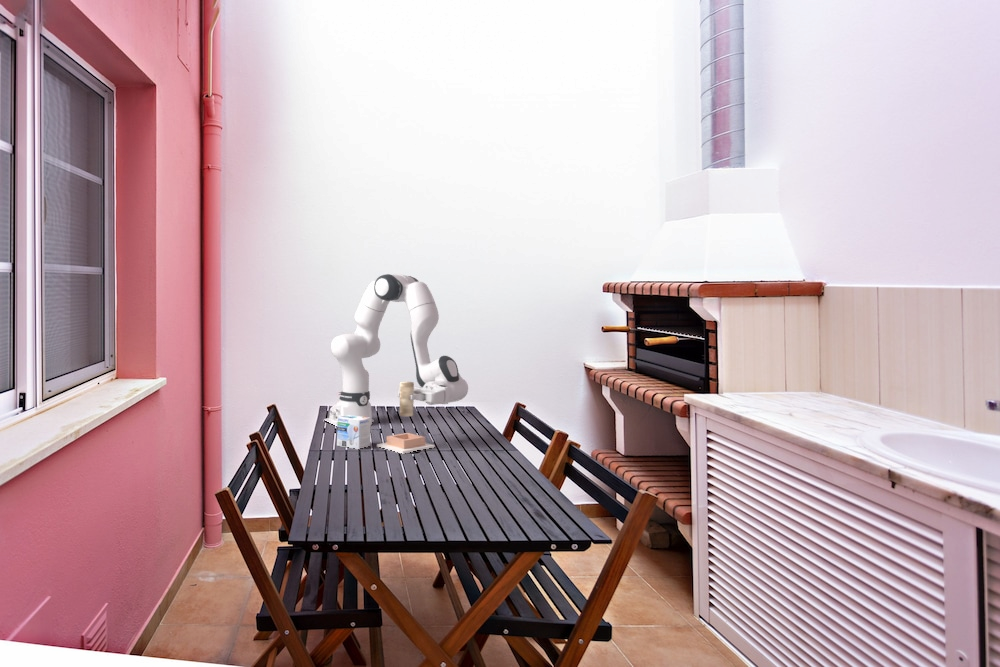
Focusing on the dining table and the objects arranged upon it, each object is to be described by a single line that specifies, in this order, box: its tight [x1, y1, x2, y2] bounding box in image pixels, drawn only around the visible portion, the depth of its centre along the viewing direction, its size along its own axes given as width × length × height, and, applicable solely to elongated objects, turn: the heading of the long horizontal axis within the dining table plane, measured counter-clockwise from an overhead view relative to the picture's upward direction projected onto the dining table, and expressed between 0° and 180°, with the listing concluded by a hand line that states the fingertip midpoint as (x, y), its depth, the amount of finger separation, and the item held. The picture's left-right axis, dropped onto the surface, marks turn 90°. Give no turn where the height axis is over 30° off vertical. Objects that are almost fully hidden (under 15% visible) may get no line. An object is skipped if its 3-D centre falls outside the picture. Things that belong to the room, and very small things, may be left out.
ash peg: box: [399, 381, 415, 417], centre depth 260 cm, size 5×5×12 cm
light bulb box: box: [336, 415, 372, 450], centre depth 260 cm, size 11×7×11 cm, turn 62°
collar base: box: [376, 432, 436, 455], centre depth 261 cm, size 15×15×4 cm
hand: (404, 396), depth 259 cm, fingers closed on ash peg, 5 cm apart
